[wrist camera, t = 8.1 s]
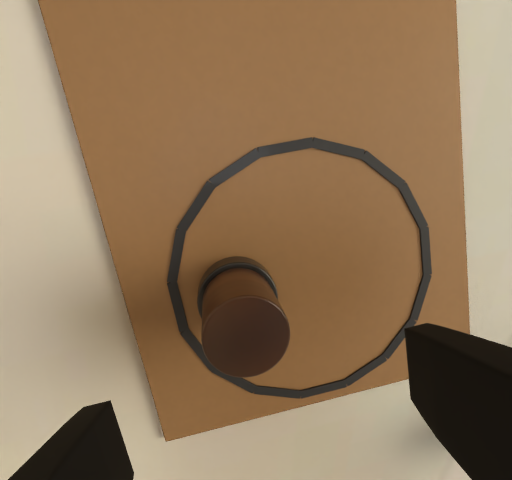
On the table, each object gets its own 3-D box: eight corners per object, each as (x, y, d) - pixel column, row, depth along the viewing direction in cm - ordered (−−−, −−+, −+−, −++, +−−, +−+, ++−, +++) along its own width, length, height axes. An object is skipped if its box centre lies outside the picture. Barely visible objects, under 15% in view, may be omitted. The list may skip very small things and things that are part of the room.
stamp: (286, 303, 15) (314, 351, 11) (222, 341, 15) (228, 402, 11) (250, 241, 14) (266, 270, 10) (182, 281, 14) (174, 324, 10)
